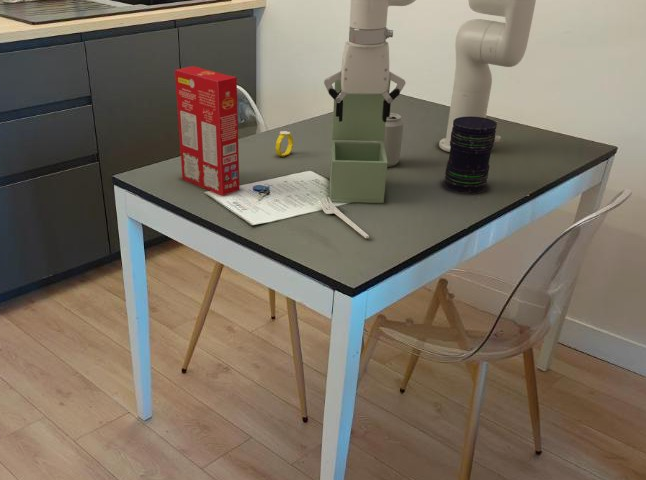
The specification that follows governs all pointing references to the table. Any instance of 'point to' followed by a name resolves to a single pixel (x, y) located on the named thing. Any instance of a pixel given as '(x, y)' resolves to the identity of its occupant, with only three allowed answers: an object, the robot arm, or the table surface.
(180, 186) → the table surface
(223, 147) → the food packaging
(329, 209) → the fork
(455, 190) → the dark blue disc stack
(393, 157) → the can
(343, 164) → the olive green lidded box
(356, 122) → the box lid
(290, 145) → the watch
